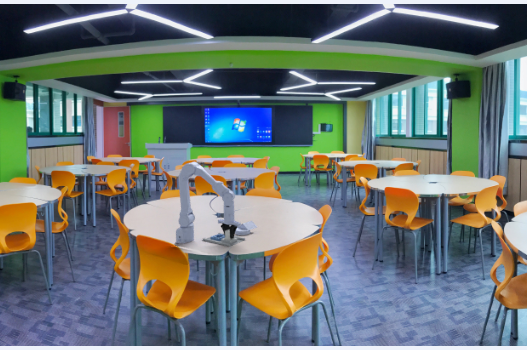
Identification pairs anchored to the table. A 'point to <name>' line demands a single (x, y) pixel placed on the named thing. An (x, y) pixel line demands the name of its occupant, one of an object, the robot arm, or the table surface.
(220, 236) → the grey tray
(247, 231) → the wedge on round base
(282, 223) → the table surface
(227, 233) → the plug
